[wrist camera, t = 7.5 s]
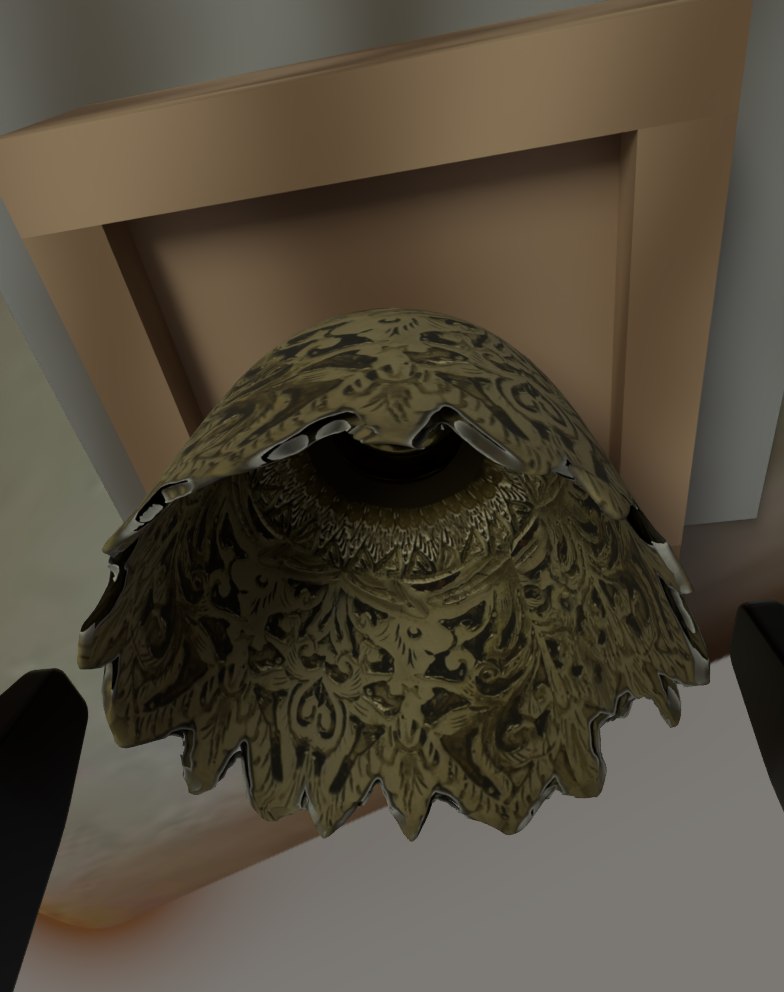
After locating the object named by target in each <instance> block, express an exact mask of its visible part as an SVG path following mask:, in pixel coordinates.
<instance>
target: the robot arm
mask: <svg viewBox="0 0 784 992" xmlns="http://www.w3.org/2000/svg"><path fill="white" fill-rule="evenodd" d="M730 658H731V662H732V666H733V669H734V672H735V675H736V678H737V681H738V684H739V687H740V690H741V693H742V696H743V700H744V703H745V706H746V708H747V712H748V715H749V718H750V721H751V724H752V727H753V730H754V733H755V736H756V739H757V742H758V745H759V749H760V752H761V755H762V757H763V761H764V764H765V767H766V769H767V772H768V775H769V778H770V781H771V783H772V786H773V788H774V790H775V793H776V795H777V797H778V800H779V802H780V804H781V806H782V809H783V811H784V604H782V603H780V602H778V601H775V600H763V601H753V602H745V603H742V604H741V605H740V606H739V608H738V610H737V614H736V619H735V624H734V628H733V633H732V638H731V642H730ZM87 722H88V707H87V704H86V702H85V700H84V699H83V697H82V696H81V694H80V693H79V692H78V690H77V689H76V688H75V686H74V685H73V684H72V682H71V681H70V680H69V678H68V677H67V675H66V674H65V673H64V672H63V671H62V670H60V669H57V668H51V669H40V670H33V671H30V672H28V673H26V674H24V675H23V676H22V677H21V678H20V679H18V680H17V681H16V682H15V683H14V684H13V685H12V686H11V687H9V688H8V689H7V690H6V691H5V692H4V693H3V694H1V695H0V992H13V991H14V988H15V985H16V982H17V978H18V975H19V972H20V969H21V966H22V963H23V959H24V956H25V953H26V950H27V947H28V944H29V940H30V937H31V934H32V931H33V928H34V924H35V921H36V918H37V915H38V912H39V909H40V905H41V902H42V899H43V896H44V893H45V890H46V886H47V883H48V880H49V877H50V874H51V871H52V867H53V864H54V861H55V858H56V855H57V851H58V848H59V845H60V842H61V838H62V835H63V831H64V828H65V824H66V820H67V816H68V812H69V807H70V803H71V798H72V793H73V788H74V783H75V779H76V774H77V769H78V764H79V760H80V755H81V750H82V745H83V741H84V736H85V731H86V726H87Z"/></svg>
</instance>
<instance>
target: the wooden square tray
mask: <svg viewBox="0 0 784 992" xmlns="http://www.w3.org/2000/svg"><path fill="white" fill-rule="evenodd" d="M0 293H1V294H2V296H3V298H4V300H5V302H6V304H7V306H8V308H9V309H10V311H11V313H12V315H13V317H14V319H15V321H16V322H17V324H18V326H19V328H20V330H21V332H22V334H23V335H24V337H25V339H26V341H27V343H28V345H29V347H30V349H31V350H32V352H33V354H34V356H35V358H36V360H37V362H38V363H39V365H40V367H41V369H42V371H43V373H44V375H45V376H46V378H47V380H48V382H49V384H50V386H51V388H52V390H53V391H54V393H55V395H56V397H57V399H58V401H59V403H60V404H61V406H62V408H63V410H64V412H65V414H66V416H67V417H68V419H69V421H70V423H71V425H72V427H73V429H74V431H75V432H76V434H77V436H78V438H79V440H80V442H81V444H82V445H83V447H84V449H85V451H86V453H87V455H88V457H89V458H90V460H91V462H92V464H93V466H94V468H95V470H96V472H97V473H98V475H99V477H100V479H101V481H102V483H103V485H104V486H105V488H106V490H107V492H108V494H109V496H110V498H111V499H112V501H113V503H114V505H115V507H116V509H117V511H118V513H119V514H120V516H121V518H122V520H123V522H125V521H126V520H127V519H128V518H129V517H130V516H131V515H132V513H133V512H134V511H135V510H136V508H137V507H138V506H139V504H140V503H141V502H142V501H143V499H144V498H145V497H146V495H147V494H148V493H149V491H150V490H151V489H152V487H153V486H154V485H155V483H156V482H157V481H158V479H159V478H160V477H161V475H162V474H163V473H164V471H165V470H166V469H167V467H168V466H169V465H170V463H171V462H172V461H173V460H174V458H175V457H176V456H177V454H178V453H179V452H180V450H181V449H182V448H183V446H184V445H185V444H186V443H187V441H188V440H189V439H190V437H191V436H192V435H193V434H194V432H195V431H196V430H197V428H198V427H199V426H200V425H201V423H202V422H203V421H204V420H205V418H206V417H207V416H208V415H209V413H210V412H211V411H212V410H213V408H214V407H215V406H216V405H217V404H218V403H219V401H220V400H221V399H222V398H223V397H224V396H225V395H226V393H227V392H228V391H229V390H230V389H231V388H232V386H233V385H234V384H235V383H236V382H237V381H238V380H239V379H240V378H241V377H242V376H243V375H244V374H245V373H246V372H247V371H248V370H249V369H250V368H251V367H252V366H253V365H254V364H255V363H257V362H258V361H259V360H260V359H261V358H262V357H263V356H265V355H266V354H267V353H268V352H270V351H271V350H273V349H274V348H275V347H277V346H278V345H280V344H281V343H283V342H284V341H286V340H287V339H289V338H290V337H292V336H293V335H295V334H297V333H299V332H301V331H303V330H305V329H306V328H308V327H310V326H312V325H314V324H317V323H320V322H322V321H325V320H328V319H330V318H333V317H336V316H340V315H344V314H348V313H352V312H357V311H364V310H371V309H382V308H407V309H419V310H426V311H431V312H437V313H442V314H446V315H449V316H453V317H456V318H459V319H462V320H466V321H468V322H470V323H473V324H475V325H477V326H479V327H482V328H484V329H486V330H488V331H489V332H491V333H493V334H495V335H496V336H498V337H500V338H502V339H503V340H505V341H506V342H507V343H509V344H510V345H511V346H513V347H514V348H515V349H517V350H518V351H519V352H521V353H522V354H523V355H525V356H526V357H527V358H529V359H530V360H531V361H532V362H533V363H534V364H535V365H536V366H537V367H538V368H539V369H540V370H541V371H542V372H543V373H544V374H545V375H546V376H547V377H548V378H549V379H550V380H551V381H552V382H553V383H554V384H555V386H556V387H557V388H558V389H559V390H560V392H561V393H562V394H563V395H564V397H565V398H566V399H567V400H568V402H569V403H570V404H571V406H572V407H573V408H574V410H575V411H576V412H577V414H578V415H579V416H580V417H581V419H582V420H583V422H584V423H585V425H586V426H587V427H588V429H589V430H590V432H591V433H592V435H593V436H594V438H595V439H596V441H597V442H598V444H599V445H600V447H601V448H602V450H603V451H604V453H605V454H606V456H607V457H608V459H609V460H610V462H611V463H612V465H613V466H614V468H615V469H616V471H617V472H618V474H619V475H620V477H621V478H622V480H623V481H624V483H625V484H626V486H627V488H628V489H629V491H630V492H631V494H632V495H633V497H634V498H635V500H636V501H637V503H638V504H639V506H640V507H641V509H642V510H643V512H644V513H645V515H646V516H647V518H648V519H649V521H650V522H651V524H652V525H653V526H654V528H655V529H656V530H657V531H658V532H659V533H660V534H661V535H662V536H663V537H664V538H665V539H666V540H667V542H668V543H669V545H670V547H671V548H672V550H673V551H674V553H675V555H676V556H677V558H678V560H679V558H680V551H681V543H682V536H683V528H684V526H687V525H696V524H705V523H715V522H724V521H734V520H743V519H752V518H757V513H758V508H759V504H760V499H761V495H762V490H763V485H764V481H765V476H766V471H767V467H768V462H769V458H770V453H771V448H772V444H773V439H774V434H775V430H776V425H777V421H778V416H779V411H780V407H781V402H782V398H783V393H784V0H0Z"/></svg>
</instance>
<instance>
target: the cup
mask: <svg viewBox="0 0 784 992" xmlns="http://www.w3.org/2000/svg"><path fill="white" fill-rule="evenodd" d="M102 552H103V553H105V554H108V555H110V558H109V563H110V564H111V565H109V566H108V567H109V568H110V570H111V572H110V579H109V583H108V586H107V588H106V590H105V592H104V594H103V596H102V598H101V600H100V601H99V603H98V605H97V607H96V608H95V610H94V611H93V612H92V613H91V615H90V616H89V617H88V619H87V620H86V621H85V622H84V624H83V625H82V628H81V631H80V635H79V644H78V657H77V662H78V666H79V668H80V669H95V668H102V667H104V666H105V671H104V678H103V684H102V701H103V707H104V710H105V714H106V718H107V721H108V724H109V726H110V729H111V731H112V734H113V736H114V740H115V742H116V743H117V744H118V746H119V747H122V748H130V747H135V746H138V745H142V744H146V743H149V742H153V741H156V740H160V739H164V738H166V737H168V736H170V735H173V736H177V737H181V738H182V740H183V738H184V735H185V741H183V746H185V748H184V752H183V756H182V755H180V756H181V759H182V760H181V761H182V765H183V770H184V771H183V777H184V779H185V781H186V783H187V785H188V789H189V793H191V794H194V795H199V794H201V793H203V792H206V791H208V790H211V789H213V788H214V787H216V784H217V783H218V782H219V781H220V780H221V779H222V778H224V776H225V774H226V771H227V770H228V768H230V767H231V766H232V765H233V764H234V763H235V762H236V759H237V758H241V759H242V772H243V773H242V774H243V778H244V784H245V788H246V794H247V799H248V801H249V803H250V804H251V806H252V807H253V808H254V810H255V811H256V812H257V813H258V814H259V815H260V816H261V817H262V818H263V819H265V820H267V821H278V819H279V818H281V817H284V816H287V815H291V814H293V813H294V812H296V811H298V810H301V809H305V811H307V810H309V812H310V815H311V817H312V819H313V822H314V824H315V827H316V829H317V831H318V833H319V834H320V835H321V837H322V838H326V837H328V836H330V835H331V834H332V833H334V832H335V831H336V830H337V829H338V828H339V827H340V826H342V825H343V824H344V822H345V821H346V820H347V819H348V818H349V817H350V816H351V814H352V813H353V812H354V811H355V810H356V808H357V806H362V805H365V803H366V801H367V800H368V799H369V797H370V795H371V793H372V792H373V790H372V788H373V787H374V786H375V785H376V784H380V786H381V788H382V792H383V794H384V796H385V797H386V800H387V803H388V806H389V811H390V813H391V814H392V815H393V816H394V818H395V819H396V821H397V822H398V824H399V826H400V828H401V830H402V832H403V833H404V835H405V836H406V837H407V838H408V839H409V841H411V842H412V841H414V840H415V839H416V838H417V837H418V835H419V833H420V831H421V829H422V826H423V825H424V823H425V821H426V818H427V816H428V814H429V811H430V808H431V806H432V803H433V802H435V801H436V800H440V801H443V802H446V803H448V804H449V805H450V806H451V807H453V808H455V809H456V810H458V811H459V813H462V814H464V815H465V816H466V817H467V818H469V819H473V820H476V821H480V822H483V823H485V824H488V825H490V826H492V827H494V828H496V829H498V830H500V831H501V832H503V833H504V834H506V835H512V834H516V833H518V832H520V831H521V830H522V829H523V828H524V827H525V826H526V825H527V824H528V823H529V822H530V821H531V819H532V818H533V816H534V815H535V813H536V812H537V810H538V809H539V808H540V806H541V805H542V803H543V802H544V800H545V799H549V798H550V797H551V795H552V794H553V792H554V791H555V790H558V791H560V792H561V793H562V794H563V795H570V796H574V797H575V798H591V797H597V796H598V795H599V794H600V793H601V791H602V788H603V785H604V781H605V776H606V764H605V762H604V760H603V757H602V753H601V738H600V728H601V726H603V725H604V724H605V723H606V722H609V721H614V720H615V719H616V718H626V717H627V716H628V715H629V712H630V709H631V706H632V702H633V701H634V700H635V699H640V698H642V697H645V698H647V699H652V700H653V701H654V704H655V705H656V706H657V707H658V709H659V711H660V714H661V716H662V717H663V719H664V720H665V721H666V723H667V724H668V725H669V726H670V728H672V727H675V726H677V725H678V723H679V720H680V716H681V701H680V696H679V692H678V689H677V685H676V684H683V686H685V687H689V686H697V685H707V684H709V683H710V661H709V656H708V652H707V648H706V645H705V642H704V640H703V637H702V635H701V632H700V630H699V627H698V625H697V623H696V621H695V619H694V617H693V615H692V612H691V610H690V608H689V606H688V604H687V602H686V600H685V597H684V595H683V594H688V593H691V592H693V587H692V585H691V583H690V581H689V579H688V577H687V575H686V573H685V571H684V569H683V567H682V565H681V563H680V562H679V560H678V558H677V556H676V555H675V553H674V551H673V550H672V548H671V547H670V545H669V543H668V542H667V540H666V539H665V538H664V537H663V536H662V535H661V534H660V533H659V532H658V531H657V530H656V529H655V528H654V526H653V525H652V524H651V522H650V521H649V519H648V518H647V516H646V515H645V513H644V512H643V510H642V509H641V507H640V506H639V504H638V503H637V501H636V500H635V498H634V497H633V495H632V494H631V492H630V491H629V489H628V488H627V486H626V484H625V483H624V481H623V480H622V478H621V477H620V475H619V474H618V472H617V471H616V469H615V468H614V466H613V465H612V463H611V462H610V460H609V459H608V457H607V456H606V454H605V453H604V451H603V450H602V448H601V447H600V445H599V444H598V442H597V441H596V439H595V438H594V436H593V435H592V433H591V432H590V430H589V429H588V427H587V426H586V425H585V423H584V422H583V420H582V419H581V417H580V416H579V415H578V414H577V412H576V411H575V410H574V408H573V407H572V406H571V404H570V403H569V402H568V400H567V399H566V398H565V397H564V395H563V394H562V393H561V392H560V390H559V389H558V388H557V387H556V386H555V384H554V383H553V382H552V381H551V380H550V379H549V378H548V377H547V376H546V375H545V374H544V373H543V372H542V371H541V370H540V369H539V368H538V367H537V366H536V365H535V364H534V363H533V362H532V361H531V360H530V359H529V358H527V357H526V356H525V355H523V354H522V353H521V352H519V351H518V350H517V349H515V348H514V347H513V346H511V345H510V344H509V343H507V342H506V341H505V340H503V339H502V338H500V337H498V336H496V335H495V334H493V333H491V332H489V331H488V330H486V329H484V328H482V327H479V326H477V325H475V324H473V323H470V322H468V321H466V320H462V319H459V318H456V317H453V316H449V315H446V314H442V313H437V312H431V311H426V310H419V309H407V308H382V309H371V310H364V311H357V312H352V313H348V314H344V315H340V316H336V317H333V318H330V319H328V320H325V321H322V322H320V323H317V324H314V325H312V326H310V327H308V328H306V329H305V330H303V331H301V332H299V333H297V334H295V335H293V336H292V337H290V338H289V339H287V340H286V341H284V342H283V343H281V344H280V345H278V346H277V347H275V348H274V349H273V350H271V351H270V352H268V353H267V354H266V355H265V356H263V357H262V358H261V359H260V360H259V361H258V362H257V363H255V364H254V365H253V366H252V367H251V368H250V369H249V370H248V371H247V372H246V373H245V374H244V375H243V376H242V377H241V378H240V379H239V380H238V381H237V382H236V383H235V384H234V385H233V386H232V388H231V389H230V390H229V391H228V392H227V393H226V395H225V396H224V397H223V398H222V399H221V400H220V401H219V403H218V404H217V405H216V406H215V407H214V408H213V410H212V411H211V412H210V413H209V415H208V416H207V417H206V418H205V420H204V421H203V422H202V423H201V425H200V426H199V427H198V428H197V430H196V431H195V432H194V434H193V435H192V436H191V437H190V439H189V440H188V441H187V443H186V444H185V445H184V446H183V448H182V449H181V450H180V452H179V453H178V454H177V456H176V457H175V458H174V460H173V461H172V462H171V463H170V465H169V466H168V467H167V469H166V470H165V471H164V473H163V474H162V475H161V477H160V478H159V479H158V481H157V482H156V483H155V485H154V486H153V487H152V489H151V490H150V491H149V493H148V494H147V495H146V497H145V498H144V499H143V501H142V502H141V503H140V504H139V506H138V507H137V508H136V510H135V511H134V512H133V513H132V515H131V516H130V517H129V518H128V519H127V520H126V521H125V522H124V523H123V525H122V526H121V527H120V528H119V529H118V530H117V531H116V532H115V533H114V534H113V535H112V536H111V537H110V538H109V540H108V541H107V542H106V543H105V545H104V547H103V548H102ZM632 697H634V699H632V700H630V698H632ZM629 700H630V701H629ZM612 715H614V716H612ZM609 716H612V717H610V718H609ZM600 725H601V726H600ZM183 733H184V735H183ZM239 746H240V747H241V751H242V752H241V751H238V752H236V753H235V754H233V753H234V752H235V751H236V750H237V749H238V747H239ZM232 754H233V756H232ZM231 756H232V757H231ZM230 757H231V758H230ZM450 800H451V801H450ZM452 801H453V802H454V803H456V804H457V805H458V806H459V808H460V809H459V808H458V807H457V806H456V805H455V804H454V803H453V802H452ZM303 807H304V808H303Z"/></svg>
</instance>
